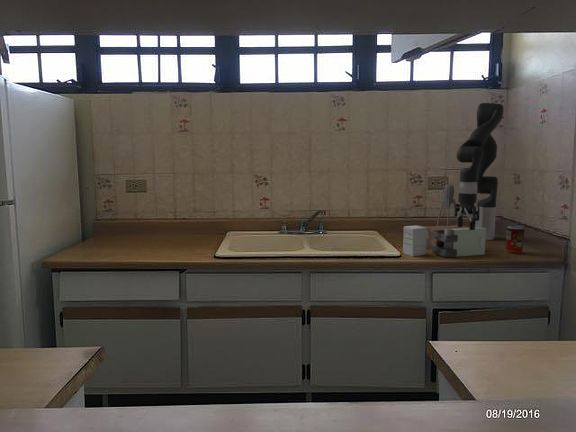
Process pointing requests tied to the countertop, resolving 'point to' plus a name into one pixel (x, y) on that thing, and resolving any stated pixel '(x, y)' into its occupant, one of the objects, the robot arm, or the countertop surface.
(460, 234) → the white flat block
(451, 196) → the citrus juicer
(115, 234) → the countertop surface
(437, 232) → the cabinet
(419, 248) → the supplement box
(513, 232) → the soda can
